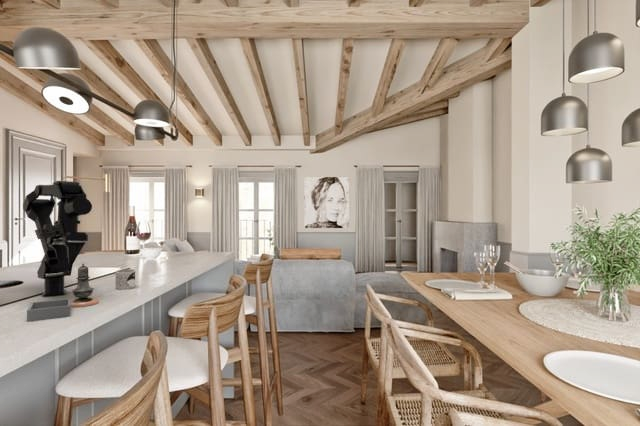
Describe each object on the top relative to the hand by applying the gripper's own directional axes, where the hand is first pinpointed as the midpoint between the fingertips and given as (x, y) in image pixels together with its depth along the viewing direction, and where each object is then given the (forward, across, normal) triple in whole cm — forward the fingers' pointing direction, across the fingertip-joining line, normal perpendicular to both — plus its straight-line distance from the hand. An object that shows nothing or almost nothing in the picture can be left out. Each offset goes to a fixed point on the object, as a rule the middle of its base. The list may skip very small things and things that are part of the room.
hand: (65, 264), depth 119 cm
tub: (+14, +13, -7) cm, 21 cm away
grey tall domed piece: (+12, +7, +3) cm, 14 cm away
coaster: (+13, +8, +3) cm, 15 cm away
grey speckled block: (+10, -7, +23) cm, 26 cm away
